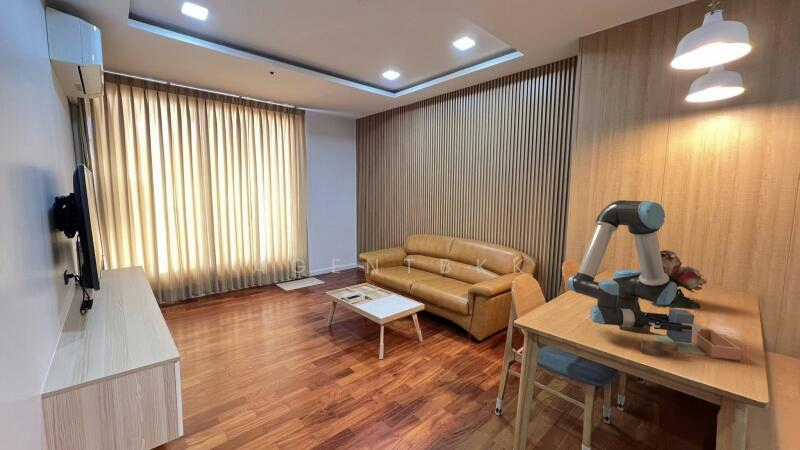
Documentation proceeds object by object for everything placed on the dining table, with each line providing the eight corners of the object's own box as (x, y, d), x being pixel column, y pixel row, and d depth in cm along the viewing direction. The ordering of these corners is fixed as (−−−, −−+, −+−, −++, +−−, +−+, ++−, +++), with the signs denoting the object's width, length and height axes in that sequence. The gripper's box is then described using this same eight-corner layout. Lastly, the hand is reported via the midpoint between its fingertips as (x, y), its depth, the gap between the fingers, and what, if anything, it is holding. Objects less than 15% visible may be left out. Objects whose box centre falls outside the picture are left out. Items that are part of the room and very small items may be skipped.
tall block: (682, 336, 140) (685, 310, 138) (691, 343, 134) (694, 315, 133) (666, 335, 141) (669, 308, 140) (673, 341, 136) (677, 313, 134)
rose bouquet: (711, 308, 179) (718, 255, 176) (658, 308, 179) (664, 255, 175) (672, 293, 205) (677, 246, 201) (626, 293, 205) (630, 246, 201)
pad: (685, 339, 143) (685, 338, 143) (705, 355, 130) (705, 354, 130) (653, 335, 146) (653, 335, 146) (670, 351, 133) (670, 350, 133)
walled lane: (648, 331, 151) (649, 320, 150) (676, 357, 128) (678, 345, 127) (618, 328, 154) (619, 317, 154) (641, 353, 131) (642, 341, 131)
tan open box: (709, 340, 142) (711, 329, 142) (740, 361, 125) (741, 349, 125) (685, 337, 145) (686, 326, 144) (711, 358, 128) (713, 346, 127)
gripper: (621, 318, 151) (681, 324, 145) (640, 336, 133) (708, 343, 127) (623, 302, 150) (683, 308, 144) (642, 318, 132) (711, 325, 126)
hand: (694, 324), depth 135 cm, fingers closed on tall block, 6 cm apart
